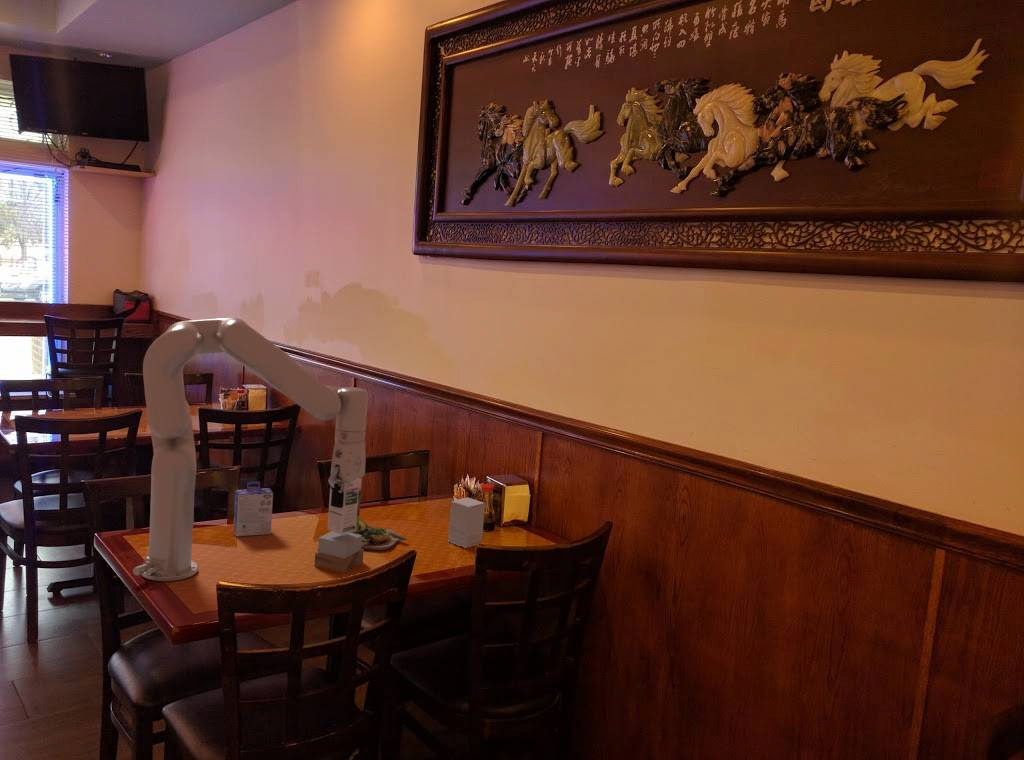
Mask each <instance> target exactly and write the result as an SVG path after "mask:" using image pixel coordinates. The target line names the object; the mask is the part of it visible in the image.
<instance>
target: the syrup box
mask: <svg viewBox="0 0 1024 760" xmlns="http://www.w3.org/2000/svg"><path fill="white" fill-rule="evenodd" d="M338 479H339V480H342V479H341V478H338ZM362 481H363V477H358V478H357V479H356V480H354V481H352V482H349V483H345V482H344V488H343V491H342V492H344V499H343V507H342V508H338V507H333V506H331V497H332V491H331V487H329V499H328V501H329V503H328V515H327V516H328V517H327V519H328V520H327V530H329V531H330V532H332V531H333V532H336V533H339V534H341V535H342V534H345V533H349V532H353V531H358V527H359V519H360V511H361V510H360V509H361V496H362ZM337 484H338V485H339V487H340V484H341V483H339V482H337Z"/></svg>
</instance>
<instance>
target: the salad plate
mask: <svg viewBox="0 0 1024 760" xmlns="http://www.w3.org/2000/svg"><path fill="white" fill-rule="evenodd" d="M350 533H354V534H359V535H362V544H361V549H363V550H364V551H365V550H366V551H367V550H368V551H384V550H388V549H390V547H391V548H392V547H393V546H394V545H395V544H396V543H397V542H400V541H407V538H406V537H404V536H402V535H398V534H397V532H395V531H393V530H392V529H387V528H382V527H381V526H378V527H372V526H370V525H367V523H366V521H365V520H363V519H360V518H359V527H358V531H353V532H350ZM373 543H374V544H373ZM375 543H376V544H375ZM368 544H369V545H368ZM381 544H383V546H382V545H381ZM370 545H376V546H370Z"/></svg>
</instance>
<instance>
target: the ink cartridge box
mask: <svg viewBox="0 0 1024 760" xmlns="http://www.w3.org/2000/svg"><path fill="white" fill-rule="evenodd" d="M253 484H254V485H257V486H250V485H253ZM273 501H274V491H273V490H272V489H271V488H270V487H266V488H265V487H264V488H262V487H261V481H259V480H258V481H257V480H256V481H246V489H236V490H234V510H233V511H234V513H233V515H234V516H233V528H232V532H233V534H234V536H235V537H247V536H257V535H258V536H259V535H270V534H272V520H273V519H272V518H273Z"/></svg>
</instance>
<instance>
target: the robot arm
mask: <svg viewBox="0 0 1024 760" xmlns="http://www.w3.org/2000/svg"><path fill="white" fill-rule="evenodd" d="M217 353H218V354H219V353H225V354H226V355H228V356H229V357H231V358H232V359H233V360H235V361H236V362H237V363H239V365H242V366H243V367H245V368H246V369H247V370H249V371H250V372H251V373H253V374H255V376H257V377H259V378H260V379H261V380H263V381H264V383H266V384H268V385H269V386H271V388H274V390H277V391H279V392H280V393H282V394H283V395H285V397H287V398H288V399H290V400H291V402H294V404H297V405H298V406H299V407H301V408H302V409H303V410H305V411H306V412H308V413H309V414H310V415H312V416H313V417H315V418H316V419H318V420H322V421H331V420H333V419H335V429H334V430H335V431H334V447H333V451H332V456H331V457H332V458H331V464H330V465H331V466H330V467H331V468H330V476H329V477H328V480H327V481H328V484H329V486H330V487H331V491H332V497H331V506H333V507H338V508H342V507H343V499H344V492H342V491H343V488H344V482H345V483H349V482H352V481H354V480H356V479H357V478H358V477H362V478H363V477H364V476H365V474H366V461H367V460H366V459H367V458H366V456H367V455H366V441H365V439H366V430H367V429H366V427H367V415H368V405H369V404H368V401H369V394H368V391H367V390H366V389H364V388H361V387H354V386H348V387H347V386H345V387H340V386H333V385H329V384H323V383H322V382H320V381H319V380H318V379H317V378H316V377H314V376H312V375H311V374H310V373H309V372H307V371H306V370H305V369H304V368H303V367H302V366H301V365H299V364H298V363H297V361H296V360H295V359H294V358H292V357H291V356H290V355H289V354H288V353H287V352H285V351H284V350H282V349H281V348H280V347H278V345H276V344H275V343H273V342H271V341H270V340H268V339H267V338H266V337H265V336H263V334H261V333H259V332H258V331H257V330H256V329H254V328H253V327H251V325H249V324H248V323H247V322H246V321H244V320H243V319H241V318H238V317H224V318H211V319H197V320H196V319H194V320H184V321H183V320H182V321H178V322H174V323H173V324H171V325H170V326H169V327H168V328H167V329H166V331H165V332H164V333H163V334H161V335H159V337H156V339H155V340H154V341H153V342H152V343H151V344H150V345H149V347H148V348H147V350H146V353H145V355H144V358H143V361H142V375H143V385H144V397H145V404H146V405H145V406H146V421H147V422H146V423H147V425H148V427H149V429H150V435H151V436H150V437H151V442H152V451H153V457H152V460H151V462H152V463H151V470H150V471H151V472H150V473H151V474H150V476H151V478H150V479H151V480H150V481H151V482H150V483H151V484H150V508H149V509H150V513H149V514H150V515H149V516H150V517H149V540H148V556H147V557H145V562H143V563H142V564H141V565H138V566H136V567H133V570H132V573H133V574H134V575H135V576H139V575H141V576H142V577H143V578H145V579H147V580H151V581H154V582H155V581H156V582H175V581H180V580H185V579H188V578H190V577H193V576H194V575H195V574H196V573H197V572H198V569H199V565H198V564H197V563H196V562H195V561H193V560H192V552H193V531H194V514H195V513H194V508H195V488H196V475H197V456H196V455H197V453H196V445H195V437H194V430H193V421H192V414H191V407H190V405H189V402H188V400H187V398H186V393H185V392H186V391H185V382H184V367H185V366H186V364H187V363H188V362H190V361H191V360H193V359H194V358H195V357H198V355H206V354H217ZM338 478H341V479H342V480H339V479H338ZM337 482H339V483H341V484H340V487H339V485H338V484H337ZM330 487H329V488H330Z"/></svg>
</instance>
